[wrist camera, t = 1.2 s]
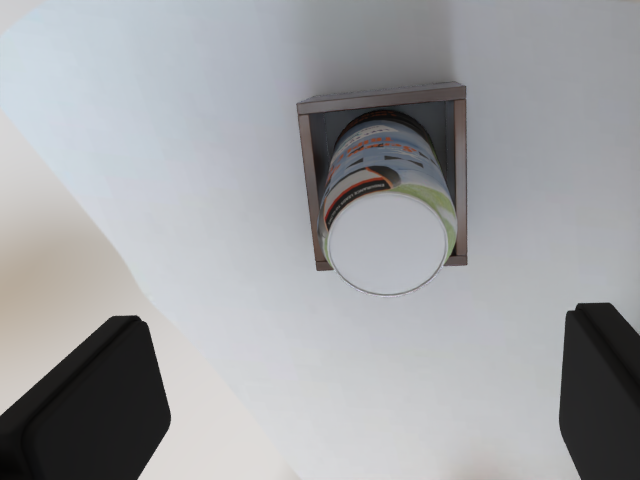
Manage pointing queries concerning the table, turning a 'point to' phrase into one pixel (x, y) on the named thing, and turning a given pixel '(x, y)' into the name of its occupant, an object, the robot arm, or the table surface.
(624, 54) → the table surface
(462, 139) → the can holder
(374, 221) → the beverage can
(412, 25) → the table surface
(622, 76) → the table surface
